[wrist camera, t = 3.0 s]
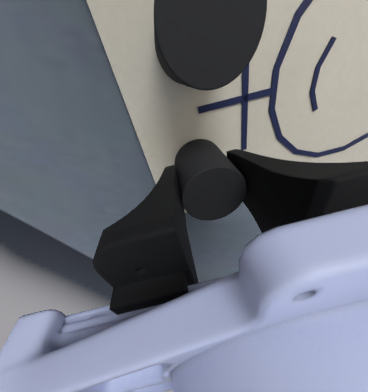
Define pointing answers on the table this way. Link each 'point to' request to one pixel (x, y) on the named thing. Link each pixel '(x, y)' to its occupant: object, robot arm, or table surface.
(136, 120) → the drawing card
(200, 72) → the black cylinder
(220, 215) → the black cylinder
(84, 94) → the table surface
